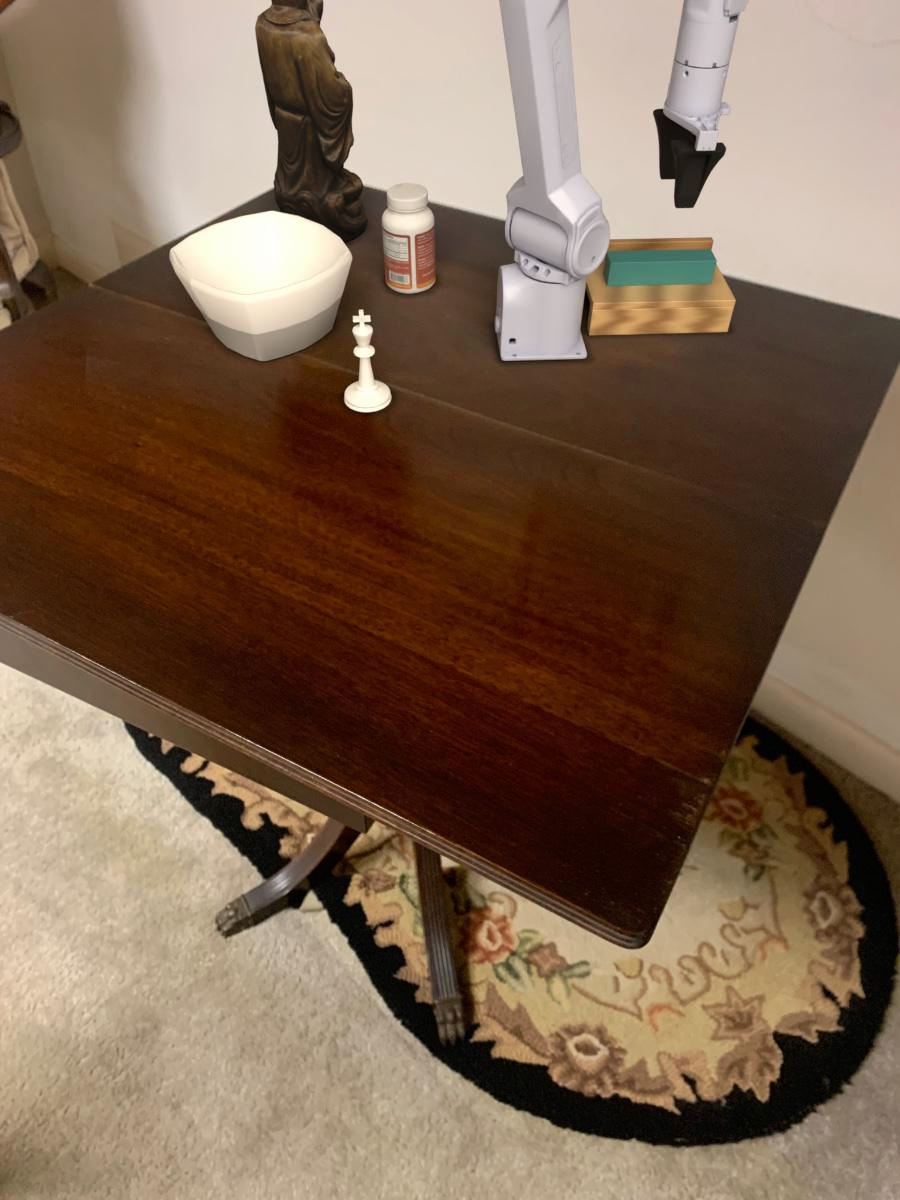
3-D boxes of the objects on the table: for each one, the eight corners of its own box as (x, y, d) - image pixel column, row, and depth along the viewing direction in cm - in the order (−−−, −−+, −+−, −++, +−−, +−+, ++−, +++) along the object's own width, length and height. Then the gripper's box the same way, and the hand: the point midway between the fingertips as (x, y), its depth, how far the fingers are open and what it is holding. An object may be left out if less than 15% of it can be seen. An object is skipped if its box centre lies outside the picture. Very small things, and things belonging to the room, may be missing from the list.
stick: (607, 286, 100) (610, 262, 98) (602, 274, 102) (606, 250, 100) (711, 284, 101) (717, 260, 98) (705, 272, 102) (710, 248, 100)
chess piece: (344, 386, 94) (335, 298, 86) (390, 383, 94) (385, 296, 87) (344, 413, 90) (335, 325, 83) (392, 411, 91) (387, 323, 83)
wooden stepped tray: (588, 335, 101) (595, 290, 96) (573, 283, 109) (578, 239, 104) (727, 332, 101) (739, 287, 97) (701, 280, 109) (711, 236, 105)
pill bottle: (430, 268, 111) (428, 177, 103) (440, 292, 107) (439, 200, 99) (381, 273, 110) (375, 182, 102) (389, 298, 106) (385, 205, 98)
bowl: (382, 330, 101) (377, 251, 94) (255, 393, 93) (240, 311, 86) (286, 275, 110) (276, 199, 103) (162, 328, 101) (141, 249, 94)
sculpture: (387, 233, 119) (391, -38, 98) (321, 260, 112) (310, -26, 91) (319, 207, 124) (310, -56, 103) (252, 231, 117) (227, -47, 96)
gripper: (759, 83, 87) (727, 219, 97) (721, 37, 97) (695, 165, 107) (689, 84, 87) (663, 221, 97) (657, 38, 97) (637, 166, 107)
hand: (676, 192), depth 102 cm, fingers open, 7 cm apart
